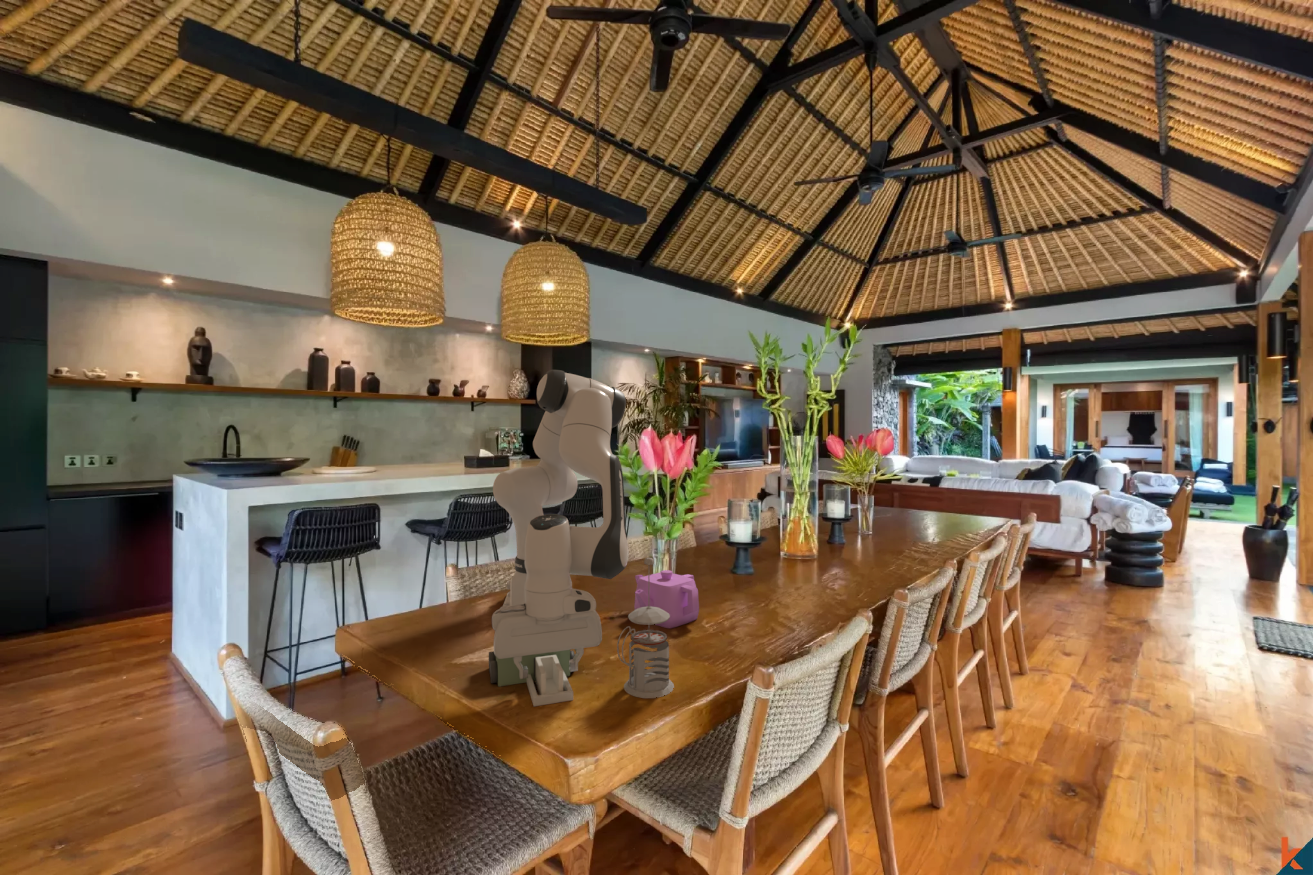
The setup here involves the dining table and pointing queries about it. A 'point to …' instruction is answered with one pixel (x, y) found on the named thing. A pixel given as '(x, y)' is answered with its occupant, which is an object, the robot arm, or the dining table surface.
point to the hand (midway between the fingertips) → (548, 673)
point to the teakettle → (669, 596)
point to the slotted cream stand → (549, 675)
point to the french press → (648, 653)
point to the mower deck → (531, 675)
